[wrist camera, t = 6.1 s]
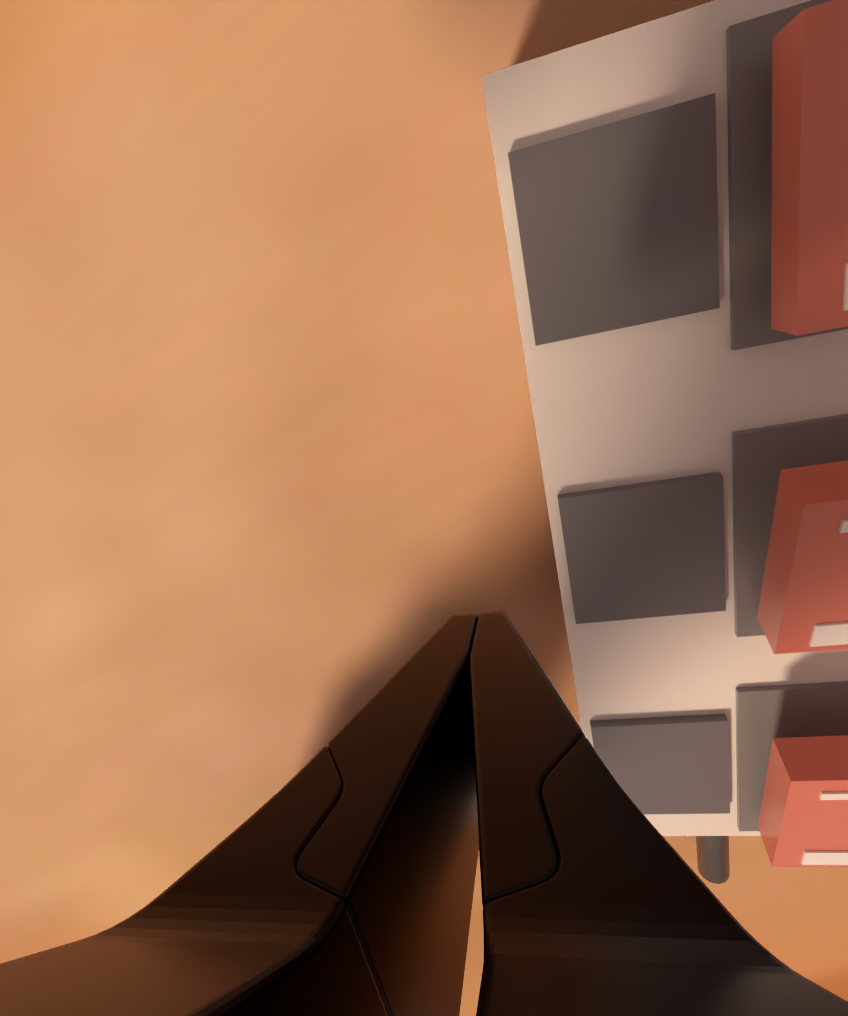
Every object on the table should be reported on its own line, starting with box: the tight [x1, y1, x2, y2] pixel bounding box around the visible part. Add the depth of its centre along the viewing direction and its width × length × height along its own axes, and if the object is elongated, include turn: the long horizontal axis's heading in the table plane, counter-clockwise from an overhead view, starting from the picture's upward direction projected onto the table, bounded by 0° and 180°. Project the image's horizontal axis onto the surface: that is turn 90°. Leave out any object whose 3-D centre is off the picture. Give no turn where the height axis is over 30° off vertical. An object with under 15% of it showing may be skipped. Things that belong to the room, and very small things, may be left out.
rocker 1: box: [758, 735, 848, 867], centre depth 16 cm, size 5×4×1 cm
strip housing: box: [482, 0, 848, 884], centre depth 18 cm, size 29×9×4 cm, turn 13°
